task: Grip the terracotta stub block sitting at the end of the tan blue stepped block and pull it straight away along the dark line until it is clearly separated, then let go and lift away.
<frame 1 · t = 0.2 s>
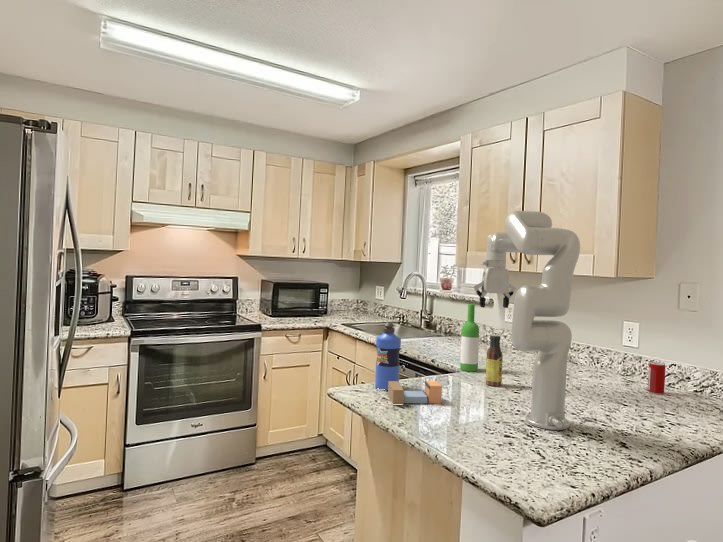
hand: (494, 307, 184), 31 cm above the worktop, tool pointing down, fingers open, 9 cm apart
wine bottle: (468, 370, 207), on the worktop
soda can: (655, 393, 179), on the worktop
tan blue stepped block: (408, 400, 159), on the worktop
sauce bottle: (493, 385, 183), on the worktop
water bottle: (386, 388, 174), on the worktop
stub: (432, 391, 159), point 3 cm above the worktop, slide at 0.0 cm
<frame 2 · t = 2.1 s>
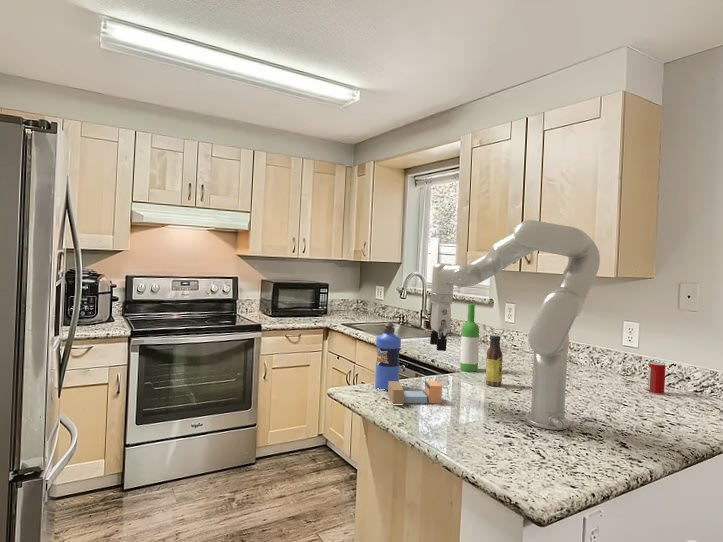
hand: (437, 347, 160), 19 cm above the worktop, tool pointing down, fingers open, 9 cm apart
nothing on the worktop moved.
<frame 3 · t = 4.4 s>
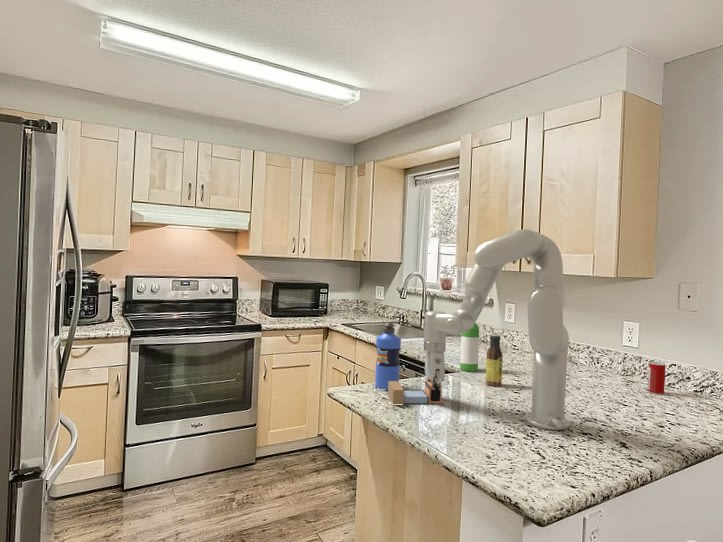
hand: (432, 397, 159), 1 cm above the worktop, tool pointing down, fingers closed on stub, 6 cm apart
stub: (432, 391, 159), point 3 cm above the worktop, slide at 0.0 cm, touching gripper
everything else where it was.
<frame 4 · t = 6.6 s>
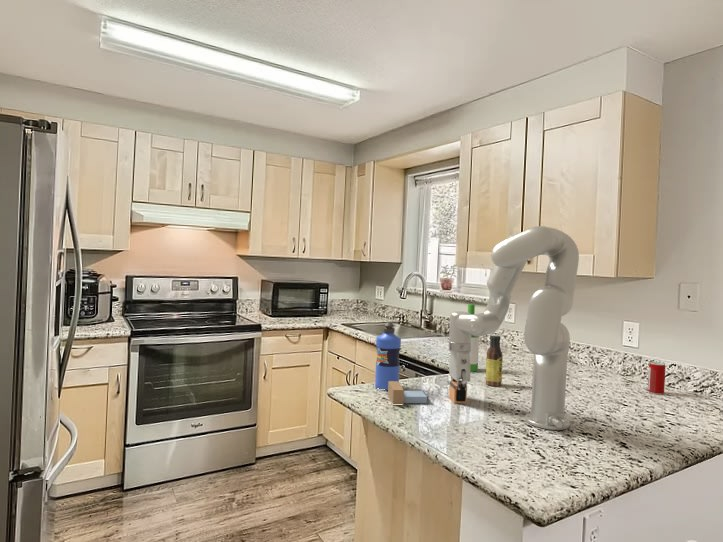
hand: (457, 397, 160), 1 cm above the worktop, tool pointing down, fingers closed on stub, 6 cm apart
stub: (457, 392, 160), point 3 cm above the worktop, slide at 8.9 cm, touching gripper
everything else where it was.
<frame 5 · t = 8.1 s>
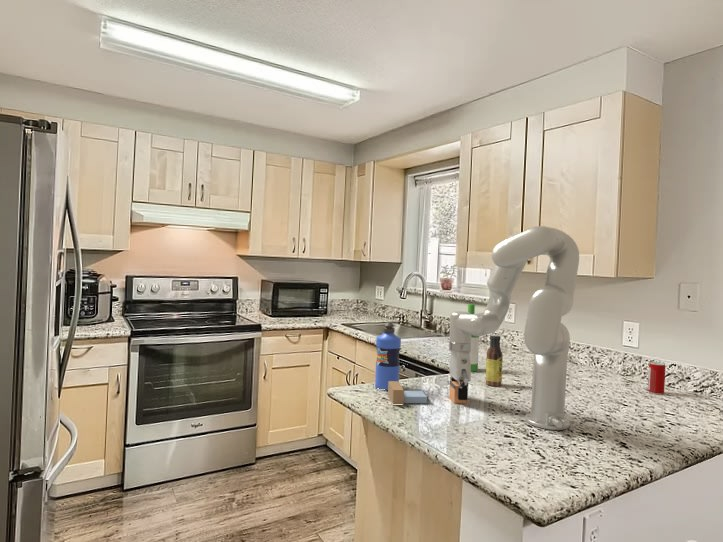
hand: (458, 395, 160), 2 cm above the worktop, tool pointing down, fingers open, 9 cm apart
stub: (457, 392, 160), point 3 cm above the worktop, slide at 9.0 cm
everything else where it was.
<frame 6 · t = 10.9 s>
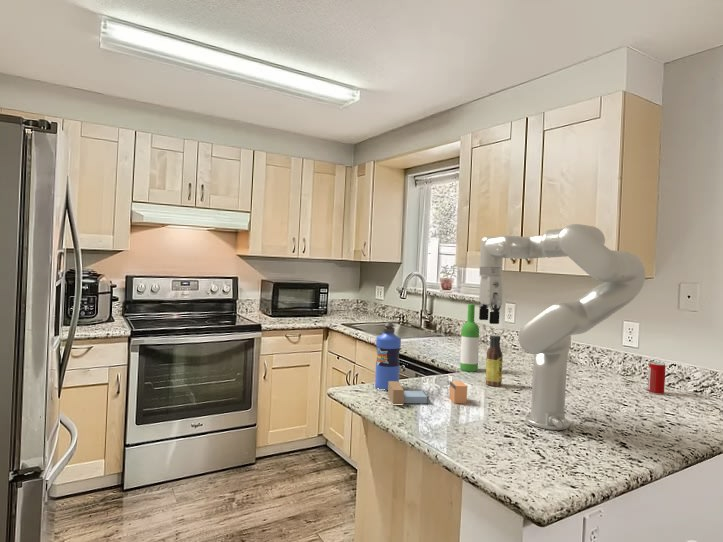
hand: (488, 321, 159), 28 cm above the worktop, tool pointing down, fingers open, 9 cm apart
nothing on the worktop moved.
at the end: stub slide at 9.0 cm; the gripper is holding nothing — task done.
